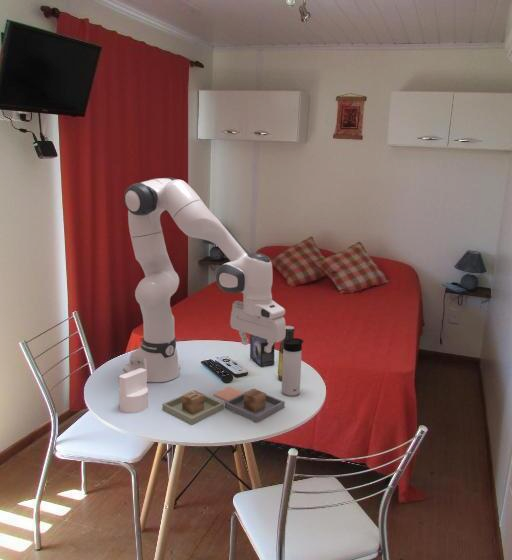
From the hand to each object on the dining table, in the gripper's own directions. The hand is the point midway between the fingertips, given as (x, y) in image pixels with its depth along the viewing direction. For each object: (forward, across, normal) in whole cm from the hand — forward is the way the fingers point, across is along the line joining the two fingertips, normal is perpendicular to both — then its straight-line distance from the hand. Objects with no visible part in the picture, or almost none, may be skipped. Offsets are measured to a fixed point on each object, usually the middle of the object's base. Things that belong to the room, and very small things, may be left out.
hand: (256, 348), depth 165 cm
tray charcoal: (+21, 0, 0) cm, 21 cm away
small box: (+21, -24, +32) cm, 45 cm away
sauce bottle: (+21, -7, +26) cm, 34 cm away
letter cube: (+21, -13, -15) cm, 29 cm away
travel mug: (+21, +2, +17) cm, 27 cm away
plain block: (+21, 0, 0) cm, 21 cm away
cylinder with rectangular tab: (+21, -29, -26) cm, 44 cm away
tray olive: (+21, -13, -15) cm, 29 cm away
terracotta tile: (+21, -12, +1) cm, 24 cm away
